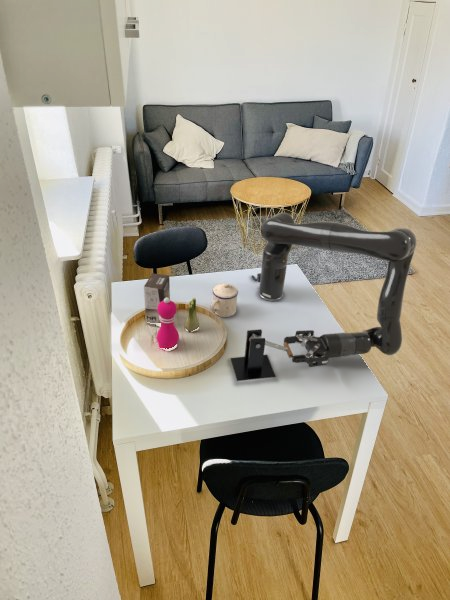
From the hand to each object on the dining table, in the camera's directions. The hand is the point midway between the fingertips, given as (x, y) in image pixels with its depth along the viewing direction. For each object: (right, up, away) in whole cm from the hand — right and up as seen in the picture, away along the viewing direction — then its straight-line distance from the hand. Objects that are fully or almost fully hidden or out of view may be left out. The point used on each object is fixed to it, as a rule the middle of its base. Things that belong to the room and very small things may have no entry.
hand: (288, 349), depth 140 cm
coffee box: (-43, +9, +21) cm, 49 cm away
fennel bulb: (-31, +5, +17) cm, 36 cm away
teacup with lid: (-21, +11, +26) cm, 35 cm away
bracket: (-11, -7, +2) cm, 13 cm away
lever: (-6, +1, -2) cm, 6 cm away
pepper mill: (-38, -1, +9) cm, 39 cm away
